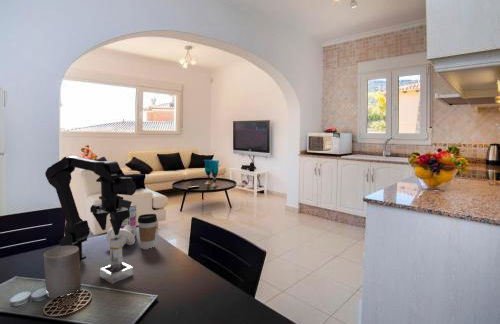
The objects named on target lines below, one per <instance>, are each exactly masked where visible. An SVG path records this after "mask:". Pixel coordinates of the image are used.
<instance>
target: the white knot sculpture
mask: <svg viewBox="0 0 500 324" xmlns="http://www.w3.org/2000/svg"><path fill="white" fill-rule="evenodd" d="M130 231H131V226H130V225H126V226H125V227H124V228H123V229H121V228H120V231H119V234H118V235H115V233H114V231H113V228H112V227H110V228H109V229H108V230H107V232H106V241H107V243H108V245H109V246H110V239H112V238H117V237H119V238H122V248H123V247H124V246H125V245H127V246H132V245H133V244H135V241H136V237H134V236H133V234H132V233H131V232H130Z"/></svg>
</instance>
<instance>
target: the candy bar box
mask: <svg viewBox="0 0 500 324" xmlns="http://www.w3.org/2000/svg"><path fill="white" fill-rule="evenodd" d="M121 209H126V210H128V211H130V217H128V218H127V219H125V220H124V221H123V222H122V225H121V229H123V228H124V227H125V226H126V225H130V226H131V231H130V232H131V233H132V234H133V236H134V238H136V237H137V204H131V206H130V209H127V208H124V207H121ZM117 210H118V209H117ZM135 236H136V237H135Z"/></svg>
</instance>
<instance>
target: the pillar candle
mask: <svg viewBox="0 0 500 324" xmlns="http://www.w3.org/2000/svg"><path fill="white" fill-rule="evenodd" d="M43 260H44V261H43V262H44V263H43V264H44V278H45V279H44V281H45V291H46V290H47V291H48V292H49V297H50V298H49V299H57V298H56V297H59V296H63V295H67V294H70V293H72V292H75V291H77V290H79V291H80V289H81V288H82V284H81V283H82V282H81V281H82V280H81V259H80V258H79V248H78V247H77V246H56V247H53V248H50V249H48V250H47V251H45V252H44V253H43ZM77 292H78V291H77Z"/></svg>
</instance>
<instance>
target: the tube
mask: <svg viewBox="0 0 500 324" xmlns="http://www.w3.org/2000/svg"><path fill="white" fill-rule="evenodd" d="M109 259H110V260H109V261H110V263H109V265H110V272H112V273H115V272H118V271H120V270H122V262H123V247H122V238H119V237H117V238H112V239H110V245H109Z"/></svg>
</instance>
